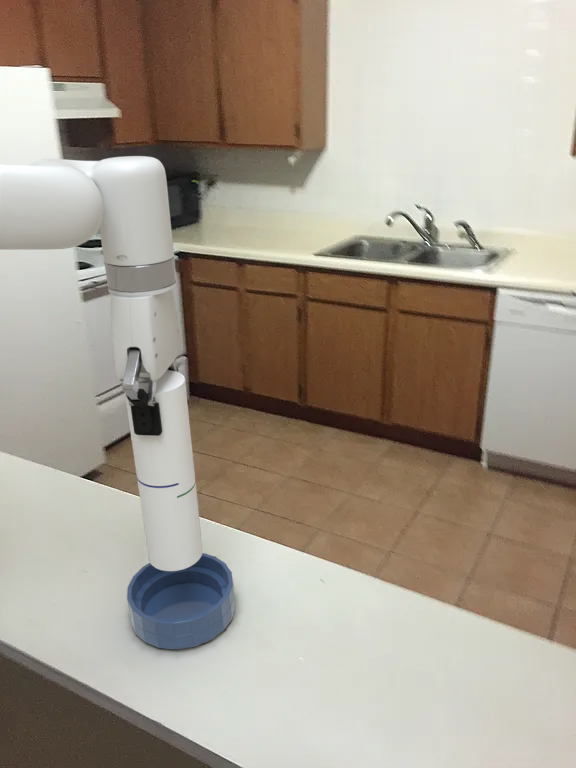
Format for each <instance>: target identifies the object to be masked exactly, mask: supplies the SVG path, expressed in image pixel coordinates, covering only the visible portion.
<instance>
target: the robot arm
mask: <svg viewBox="0 0 576 768" xmlns="http://www.w3.org/2000/svg"><path fill="white" fill-rule="evenodd" d="M167 181H168V180H167V174H166V169H165V167H164V165H163V163H162V162H161V161H160V159H158V158H155V157H153V156H148V155H147V156H145V155H127V156H115V157H108V158H103V159H101V160H78V159H77V160H76V159H65V158H43V159H39V160H36V161H33V162H31V163H29V164H8V163H0V250H10V251H11V250H17V251H19V250H21V251H22V250H25V251H26V250H28V251H29V250H32V251H33V250H36V251H37V250H39V251H40V250H41V251H42V250H45V251H47V250H65V249H72V248H75V247H79V246H81V245H83V244H84V243H87V242H89V240H90V239H92V238H93V237H94V236H95V235H96V233H98V231H99V234H100V242H101V249H102V256H103V262H104V270H105V276H106V283H107V290H108V293H109V294H111V296H110V330H111V343H112V353H113V354H112V355H113V363H114V372H115V377H116V379H117V380H118V381H119V382H121V388H122V391H123V393H124V395H125V394H126V397H127V399H128V402H129V405H130V406H131V413H132V420H133V427H134V433H135V434H136V435H151V436H159V435H161V433H162V425H161V416H160V408H159V403H155V399H156V381H157V380H158V379H159V378H160V377H161V376H162V375H163V374H164V373H165V372H166V370H171V371H176V372H179V365H178V362H177V357H178V356H179V353H180V334H179V323H178V315H177V310H176V303H175V297H174V292H173V290H175V289H176V288H177V287H178V281H177V272H176V271H177V270H176V264H175V263H176V261H175V252H174V251H175V250H174V241H173V231H172V224H171V223H172V222H171V213H170V211H171V210H170V201H169V192H168V182H167ZM140 373H150V377H139V375H140ZM139 383H148V394H147V392H146V391H145V390H144V389H140V386H139Z"/></svg>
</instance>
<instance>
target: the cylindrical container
mask: <svg viewBox="0 0 576 768" xmlns="http://www.w3.org/2000/svg"><path fill="white" fill-rule="evenodd" d="M139 377H150V373H140V375H139ZM139 386H140V389H144V390H145V391H146V392H147V394H148V383H139ZM186 386H187V385H186V377H185V375H183V374H182V373H181V372H179V371H178V372H176V371H171V370H166V372H165V373H164V374H163V375H162V376H161V377H160V378H159V379H158V380H157V381H156V399H155V403H159V408H160V416H161V425H162V433H161V435H159V436H151V435H136V434H135V433H134V427H133V420H132V413H131V406H130V405H129V402H128V399H127V397H126V394H125V393H124V397H125V405H126V410H127V419H128V424H129V425H128V426H129V432H130V439H131V445H132V453H133V460H134V466H135V475H136V481H137V487H138V494H139V495H138V496H139V502H140V508H141V516H142V522H143V530H144V537H145V544H146V550H147V556H148V557H147V558H148V561H149V562H148V563H151V565H152V566H154V567H155V568H157V569H159V570H163V571H178V570H183V569H186V568H188V567H190V566H192V565H193V564H195V563H196V562H197V561H198V560H199V559H200V558H201V556H202V553H204V552H203V551H204V549H203V539H202V530H201V520H200V511H199V500H198V492H197V491H198V490H197V484H196V483H197V481H196V474H195V471H196V470H195V462H194V454H193V453H194V452H193V444H192V434H191V424H190V415H189V405H188V403H189V402H188V396H187V387H186Z"/></svg>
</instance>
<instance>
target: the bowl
mask: <svg viewBox="0 0 576 768" xmlns="http://www.w3.org/2000/svg"><path fill="white" fill-rule="evenodd" d="M126 590H127V591H126V601H127V608H128V613H129V619H130V625H131V626H132V629H133V632H134V633H135V635H136V636H138V637H139V638H140V639H141V640H142V641H143V642H144V643H146V644H148V645H151V646H153V647H156V648H159V649H166V650H182V649H189V648H194V647H197V646H200V645H203V644H205V643H207V642H209V641H211V640H213V639H214V638H215V637H217V636H218V635H219V634H221V633H222V632H223V631H225V629H226V628H227V627H228V625H229V624H230V622H231V621H232V620H233V616H234V613H235V610H236V600H235V599H236V598H235V588H234V578H233V573H232V571H231V569H230V568H229V567H228V565H227V564H226V562H225V561H223V560H221V559H220V558H218V557H217V556H215V555H211V554H209V553H205V552H202V556H201V558H200V559H199V560H198V561H197V562H196V563H195V564H193V565H192V566H190V567H188V568H186V569H183V570H178V571H163V570H159V569H157V568H155V567H154V566H152V565H151V563H150V562H148V563H146V564H145V565H143V566H142V567H141V568H140V569H139V570H138V571H137V572H135V574H134V575H132V578H131V580H130V582H129V583H128V585H127V589H126Z"/></svg>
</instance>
